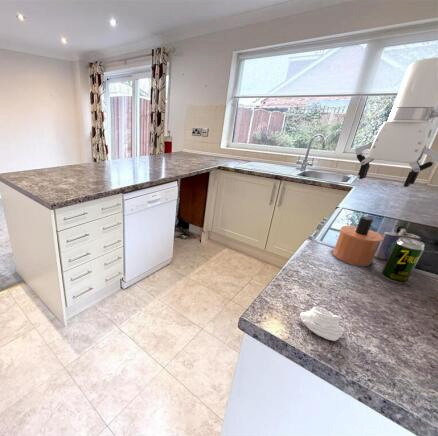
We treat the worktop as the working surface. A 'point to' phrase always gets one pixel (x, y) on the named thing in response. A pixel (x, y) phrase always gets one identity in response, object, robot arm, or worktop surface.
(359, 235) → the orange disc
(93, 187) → the worktop surface
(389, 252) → the flask
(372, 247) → the pot
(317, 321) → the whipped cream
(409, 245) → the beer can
